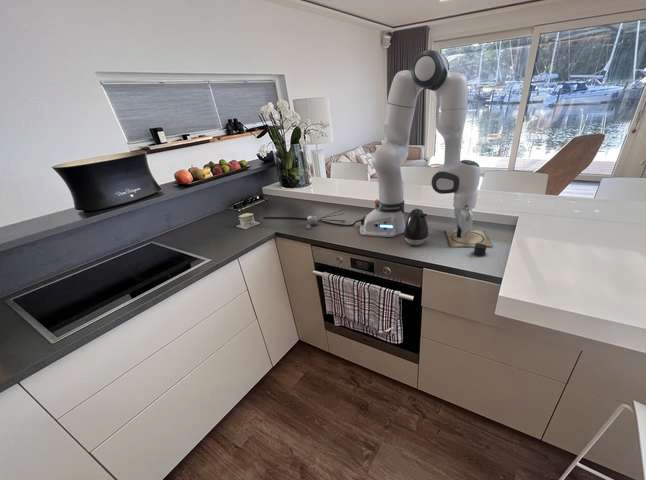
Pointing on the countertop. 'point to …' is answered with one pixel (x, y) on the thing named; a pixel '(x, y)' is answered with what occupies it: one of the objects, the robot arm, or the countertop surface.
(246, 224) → the stacked layers on plate
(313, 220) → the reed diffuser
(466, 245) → the sketch board
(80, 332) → the countertop surface
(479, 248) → the dot right
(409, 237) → the pump dispenser
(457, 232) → the black ribbed knob
